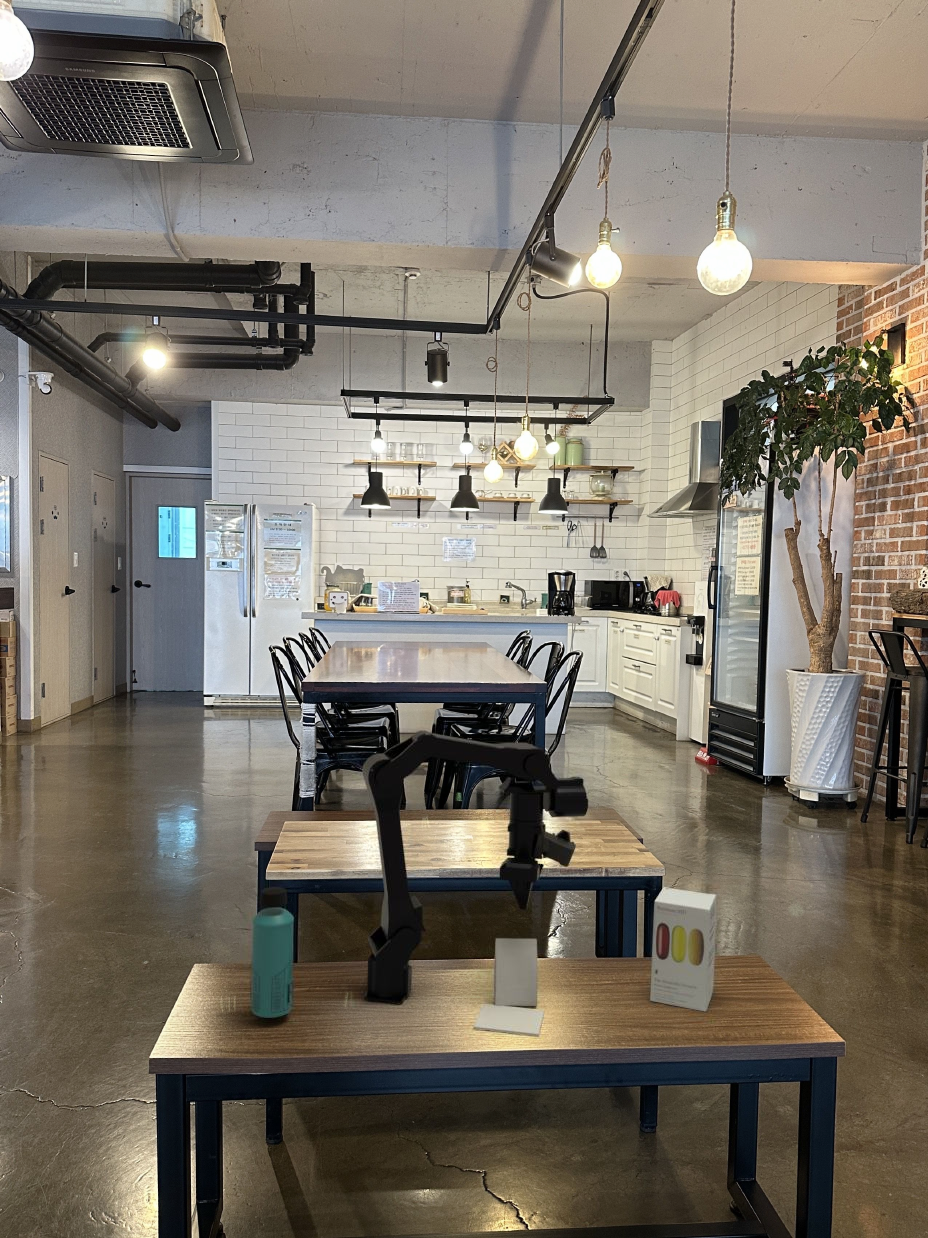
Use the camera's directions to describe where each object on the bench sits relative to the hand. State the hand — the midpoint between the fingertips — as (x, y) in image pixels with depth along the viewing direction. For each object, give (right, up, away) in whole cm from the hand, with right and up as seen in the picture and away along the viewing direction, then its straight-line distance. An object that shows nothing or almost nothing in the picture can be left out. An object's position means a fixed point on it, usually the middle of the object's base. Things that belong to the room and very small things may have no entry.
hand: (523, 908), depth 157 cm
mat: (-3, -13, -14) cm, 19 cm away
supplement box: (+27, -14, -3) cm, 30 cm away
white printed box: (-2, -13, -8) cm, 15 cm away
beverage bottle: (-40, -12, -16) cm, 45 cm away
